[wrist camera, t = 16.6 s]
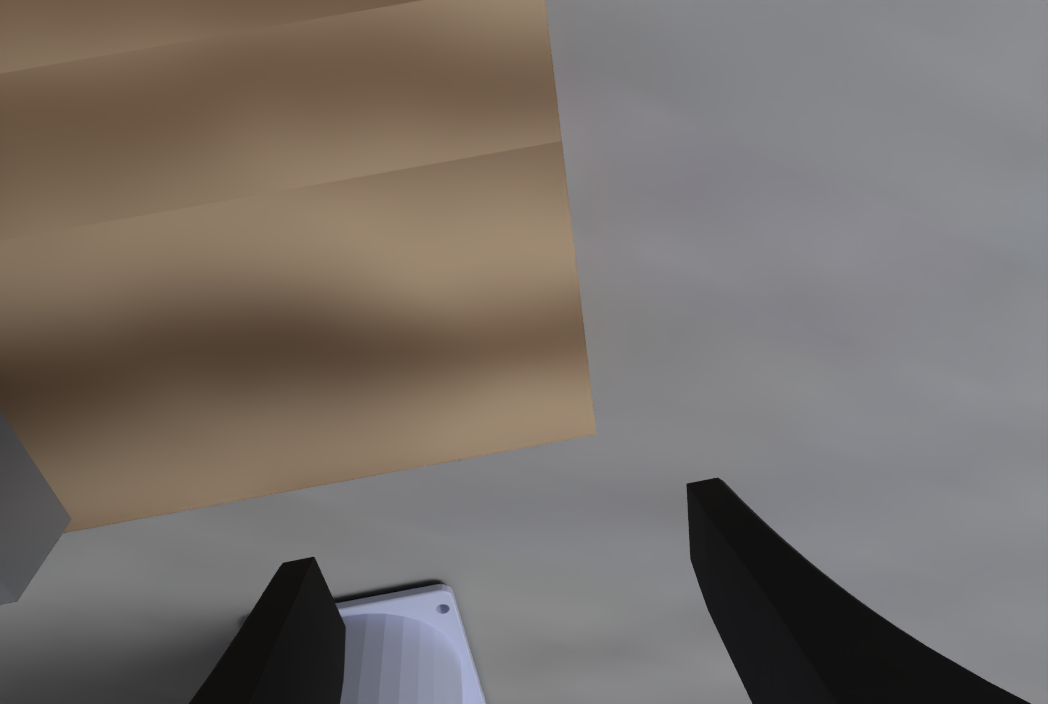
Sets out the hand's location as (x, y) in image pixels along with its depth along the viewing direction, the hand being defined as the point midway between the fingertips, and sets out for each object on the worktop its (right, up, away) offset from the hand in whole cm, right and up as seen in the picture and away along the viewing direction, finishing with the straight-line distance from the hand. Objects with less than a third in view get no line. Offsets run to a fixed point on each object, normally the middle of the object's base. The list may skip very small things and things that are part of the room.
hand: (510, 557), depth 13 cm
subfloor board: (-12, +6, +6) cm, 14 cm away
